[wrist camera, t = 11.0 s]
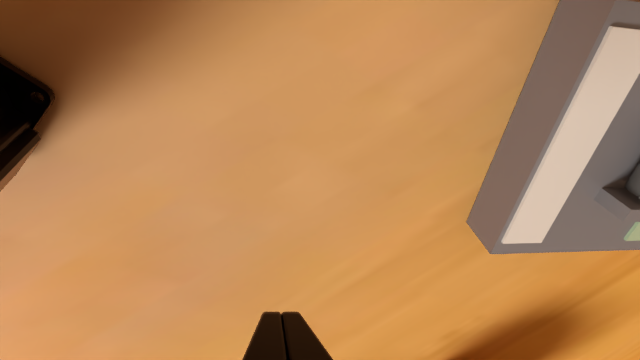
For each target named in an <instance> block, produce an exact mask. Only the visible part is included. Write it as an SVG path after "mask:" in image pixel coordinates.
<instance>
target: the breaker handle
mask: <svg viewBox="0 0 640 360" xmlns="http://www.w3.org/2000/svg"><path fill="white" fill-rule="evenodd" d="M625 188H626V189H627V190H628V191H630V192H631V193H633V194H635V195H636V196H638V197H639V199H640V162H639V164H638V165H637V167H636V168H635V170H634V171H633V173H632V174H631V176H630V177H629V179H628V180H627V182H626V184H625Z"/></svg>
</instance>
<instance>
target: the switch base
mask: <svg viewBox="0 0 640 360" xmlns="http://www.w3.org/2000/svg"><path fill="white" fill-rule="evenodd" d="M639 162H640V0H560V2H559V4H558V6H557V9H556V11H555V13H554V16H553V18H552V21H551V23H550V25H549V28H548V30H547V32H546V35H545V37H544V39H543V42H542V44H541V47H540V49H539V51H538V54H537V56H536V58H535V61H534V63H533V65H532V68H531V70H530V73H529V75H528V77H527V80H526V82H525V84H524V87H523V89H522V92H521V94H520V96H519V99H518V101H517V103H516V106H515V108H514V110H513V113H512V115H511V118H510V120H509V122H508V125H507V127H506V129H505V132H504V134H503V136H502V139H501V141H500V144H499V146H498V148H497V151H496V153H495V155H494V158H493V160H492V163H491V165H490V167H489V170H488V172H487V174H486V177H485V179H484V181H483V184H482V186H481V189H480V191H479V193H478V196H477V198H476V200H475V203H474V205H473V208H472V210H471V212H470V215H469V217H468V219H467V224H468V225H469V226H470V228H471V229H472V230H473V232H474V233H475V234H476V236H477V237H478V238H479V240H480V241H481V242H482V244H483V245H484V246H485V248H486V249H487V250H488V252H489V253H490V254H511V253H545V252H579V251H613V250H640V199H639V197H638V196H636V195H635V194H633V193H631V192H630V191H628V190H627V189H626V188H625V184H626V182H627V180H628V179H629V177H630V176H631V174H632V173H633V171H634V170H635V168H636V167H637V165H638V164H639Z"/></svg>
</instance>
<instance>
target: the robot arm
mask: <svg viewBox="0 0 640 360" xmlns="http://www.w3.org/2000/svg"><path fill="white" fill-rule="evenodd" d="M34 92H38V93H41V94H42V95H43V97H44V100H41V99H38V98H37V97H36V96H35V93H34ZM54 99H55V96H54V93H53V91H52V90H51V89H50V88H49V87H48V86H47V85H45V84H43V83H42V82H40V81H39V80H37V79H35V78H34V77H32V76H30V75H29V74H27V73H26V72H24V71H22V70H21V69H19V68H18V67H16V66H14V65H13V64H11V63H9V62H8V61H6V60H5V59H3V58H1V57H0V191H1V190H2V189H3V188H4V187H5V186H6V185H7V184H8V183H9V181H10V180H11V179H12V178H13V177H14V176H15V175H16V174H17V172H18V171H19V170H20V168H21V167H22V165H23V164H24V163H25V161H26V160H27V158H28V157H29V155H30V154H31V153H32V151H33V150H34V148H35V147H36V146H37V144H38V143H39V141H40V140H41V138H40V134H39V132H37V131H35V130H34V129H35V127H36V126H37V125H38V123H39V122H40V120H41V119H42V117H43V116H44V114H45V113H46V112H47V110H48V109H49V107H50V106H51V104H52V103H53V101H54ZM243 360H333V359H332V358H331V356H330V355H329V353H328V352H327V351H326V349H325V348H324V346H323V345H322V344H321V342H320V341H319V339H318V338H317V337H316V335H315V334H314V332H313V331H312V330H311V328H310V327H309V326H308V324H307V323H306V321H305V320H304V319H303V317H302V316H301V314H300V313H298V312H283V313H282V314H280V312H264V313H263V314H262V316H261V318H260V321H259V323H258V325H257V327H256V330H255V332H254V334H253V337H252V339H251V341H250V344H249V346H248V348H247V350H246V353H245V355H244V357H243Z"/></svg>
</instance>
